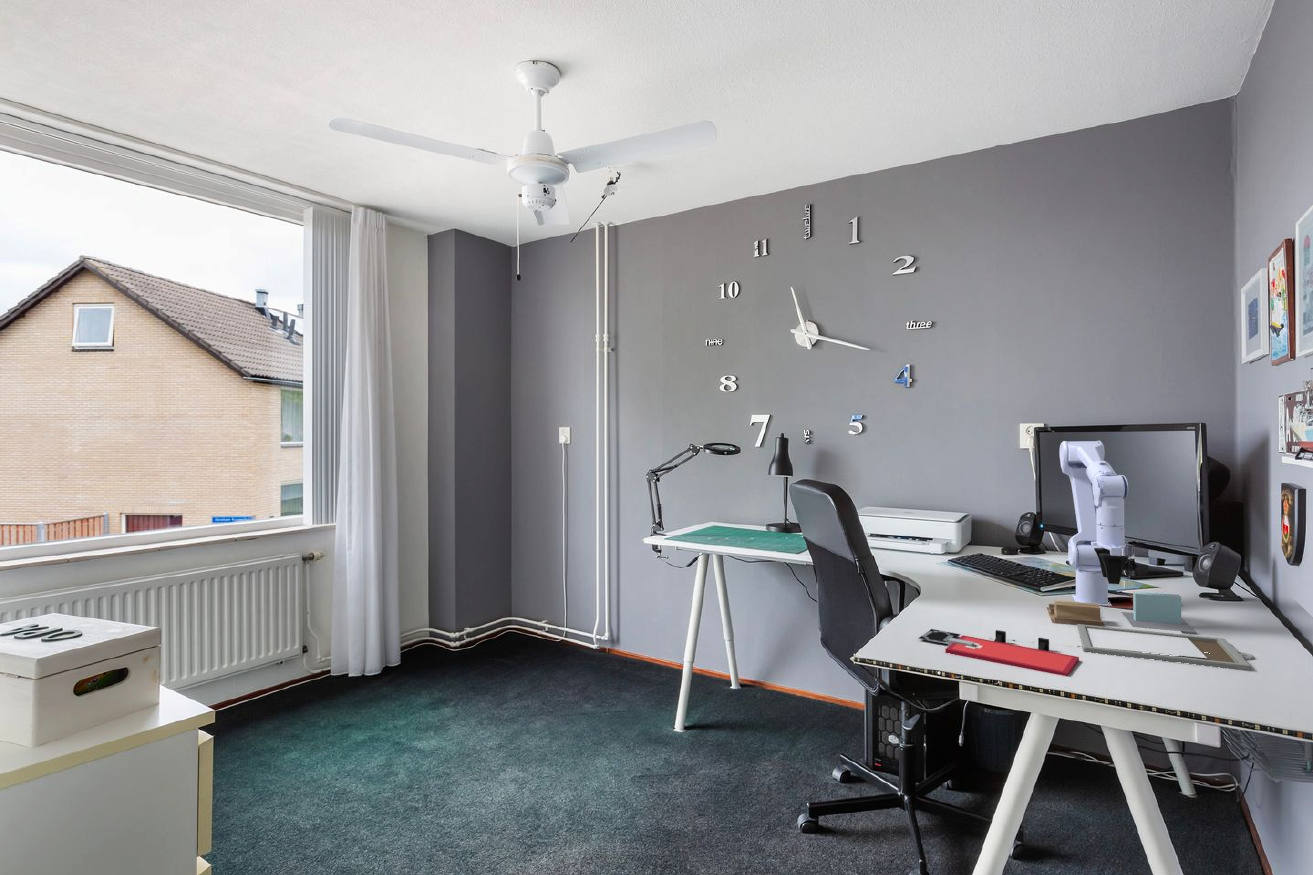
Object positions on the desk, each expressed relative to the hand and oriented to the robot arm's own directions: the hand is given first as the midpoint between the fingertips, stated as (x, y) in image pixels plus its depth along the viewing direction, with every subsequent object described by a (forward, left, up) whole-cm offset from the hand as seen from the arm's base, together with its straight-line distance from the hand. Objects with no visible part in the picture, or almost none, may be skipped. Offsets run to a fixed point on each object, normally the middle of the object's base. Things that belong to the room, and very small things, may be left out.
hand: (1110, 580), depth 168 cm
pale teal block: (+1, +9, -9) cm, 13 cm away
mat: (+1, +9, -9) cm, 13 cm away
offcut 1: (+6, -8, -9) cm, 13 cm away
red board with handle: (+37, -27, -10) cm, 46 cm away
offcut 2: (+8, -8, -9) cm, 14 cm away
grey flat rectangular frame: (+22, +6, -10) cm, 25 cm away
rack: (+3, -8, -9) cm, 13 cm away
